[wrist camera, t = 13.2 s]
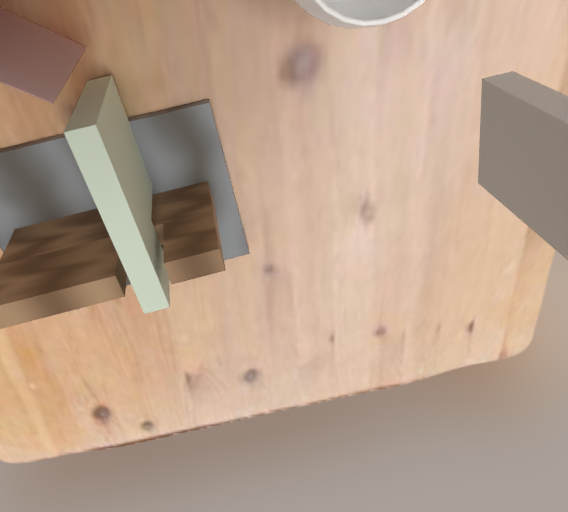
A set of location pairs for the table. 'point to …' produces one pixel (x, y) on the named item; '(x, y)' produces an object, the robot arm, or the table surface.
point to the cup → (358, 11)
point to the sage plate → (119, 187)
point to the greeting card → (35, 57)
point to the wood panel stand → (90, 227)
